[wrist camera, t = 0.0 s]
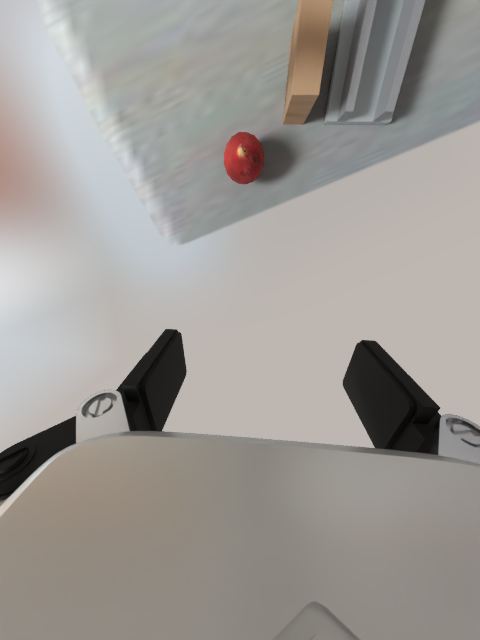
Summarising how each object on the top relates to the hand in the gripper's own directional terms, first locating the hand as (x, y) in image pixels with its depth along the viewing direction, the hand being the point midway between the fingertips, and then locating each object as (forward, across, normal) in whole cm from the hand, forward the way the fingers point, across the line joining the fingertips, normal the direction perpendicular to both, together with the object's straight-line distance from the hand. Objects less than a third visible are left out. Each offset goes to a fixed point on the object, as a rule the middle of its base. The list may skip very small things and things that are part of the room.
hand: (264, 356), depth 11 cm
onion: (+31, +3, -14) cm, 35 cm away
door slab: (+31, -4, -23) cm, 39 cm away
